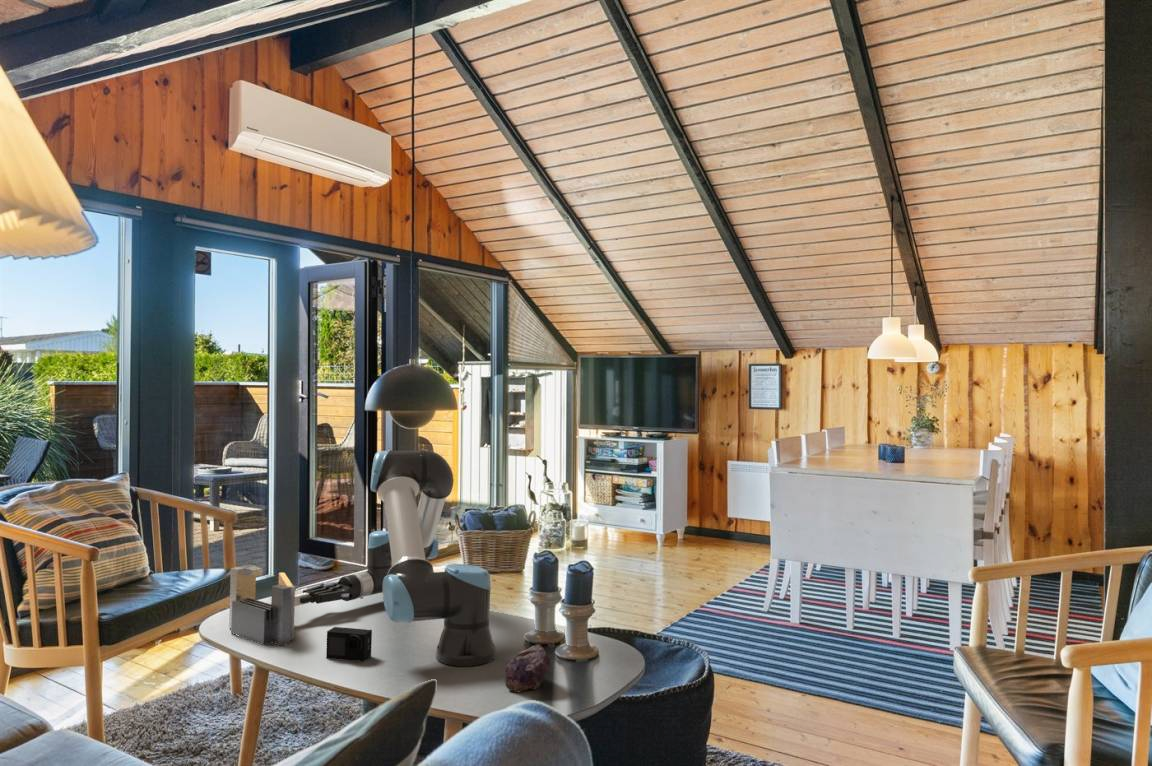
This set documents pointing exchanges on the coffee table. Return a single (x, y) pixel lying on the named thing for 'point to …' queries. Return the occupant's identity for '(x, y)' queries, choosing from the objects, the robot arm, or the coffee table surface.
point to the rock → (527, 669)
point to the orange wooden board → (286, 582)
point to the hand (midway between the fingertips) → (288, 602)
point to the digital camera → (349, 644)
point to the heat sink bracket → (258, 608)
